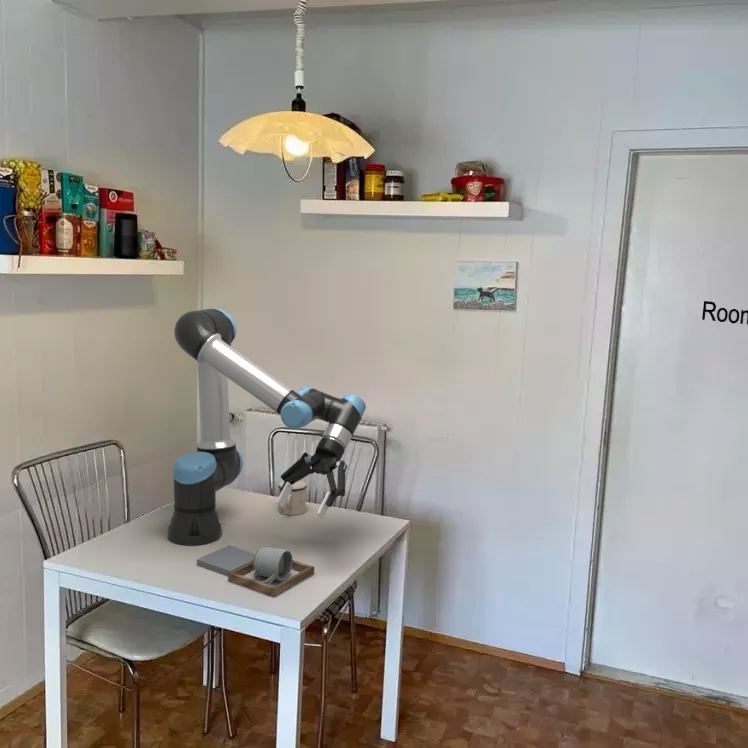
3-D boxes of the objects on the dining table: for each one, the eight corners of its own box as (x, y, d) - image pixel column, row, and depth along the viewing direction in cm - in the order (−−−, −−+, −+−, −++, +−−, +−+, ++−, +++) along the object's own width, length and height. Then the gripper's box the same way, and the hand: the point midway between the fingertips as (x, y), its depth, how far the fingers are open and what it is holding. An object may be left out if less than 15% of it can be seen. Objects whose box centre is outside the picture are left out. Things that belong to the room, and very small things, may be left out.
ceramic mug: (265, 567, 191) (265, 540, 190) (293, 573, 188) (293, 545, 187) (243, 584, 182) (243, 555, 180) (272, 591, 179) (272, 561, 177)
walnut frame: (228, 580, 183) (228, 573, 182) (269, 559, 196) (269, 552, 196) (274, 597, 175) (274, 589, 175) (314, 574, 188) (314, 566, 188)
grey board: (196, 564, 191) (196, 559, 191) (228, 550, 201) (228, 545, 201) (230, 576, 185) (230, 571, 185) (261, 561, 195) (261, 555, 195)
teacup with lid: (280, 505, 239) (281, 471, 237) (308, 507, 238) (309, 472, 236) (273, 518, 227) (273, 482, 225) (302, 520, 226) (302, 484, 224)
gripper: (376, 459, 199) (343, 527, 188) (303, 444, 211) (269, 507, 201) (366, 444, 193) (332, 513, 183) (292, 429, 206) (256, 493, 196)
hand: (299, 510), depth 192 cm, fingers open, 13 cm apart
